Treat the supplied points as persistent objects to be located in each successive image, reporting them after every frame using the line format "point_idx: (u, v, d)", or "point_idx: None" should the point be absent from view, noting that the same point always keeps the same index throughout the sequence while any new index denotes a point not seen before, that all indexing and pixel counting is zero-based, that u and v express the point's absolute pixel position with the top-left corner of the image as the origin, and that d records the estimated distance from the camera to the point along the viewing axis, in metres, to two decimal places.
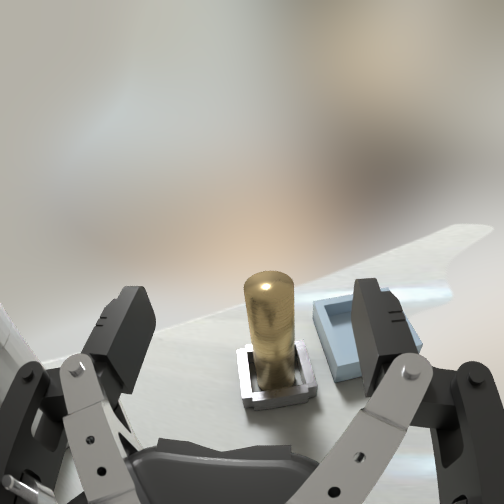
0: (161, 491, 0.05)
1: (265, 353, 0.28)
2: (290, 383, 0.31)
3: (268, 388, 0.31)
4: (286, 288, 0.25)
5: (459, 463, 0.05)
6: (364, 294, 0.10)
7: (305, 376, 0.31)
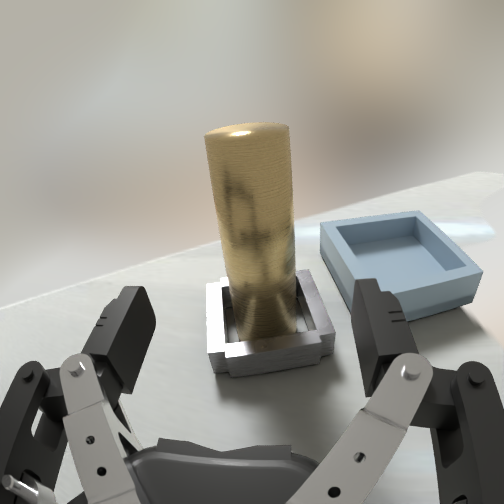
0: (161, 491, 0.05)
1: (244, 262, 0.16)
2: (290, 333, 0.20)
3: None
4: (277, 130, 0.14)
5: (459, 463, 0.05)
6: (364, 294, 0.10)
7: (314, 318, 0.19)
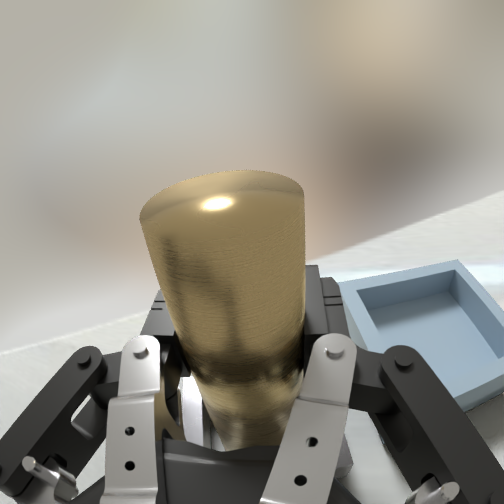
0: None
1: (224, 406, 0.10)
2: None
3: None
4: (279, 201, 0.07)
5: (413, 445, 0.06)
6: None
7: None
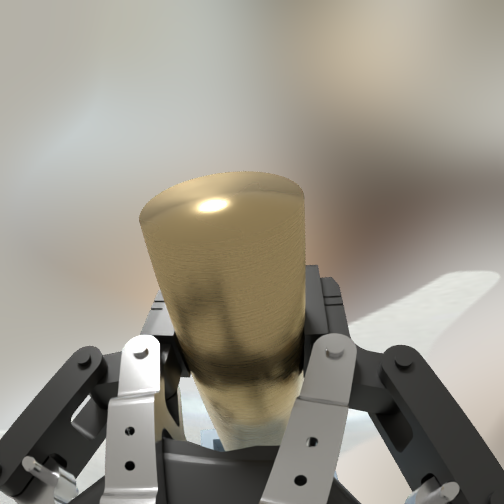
0: None
1: (224, 407, 0.10)
2: None
3: None
4: (280, 203, 0.07)
5: (413, 445, 0.06)
6: None
7: None
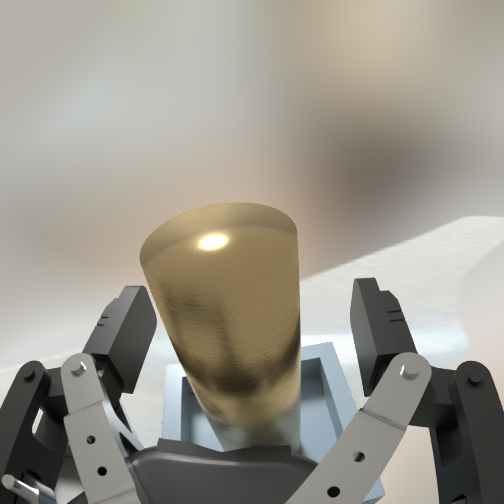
0: (161, 491, 0.05)
1: (225, 423, 0.10)
2: None
3: None
4: (273, 242, 0.08)
5: (458, 463, 0.05)
6: (363, 294, 0.10)
7: None
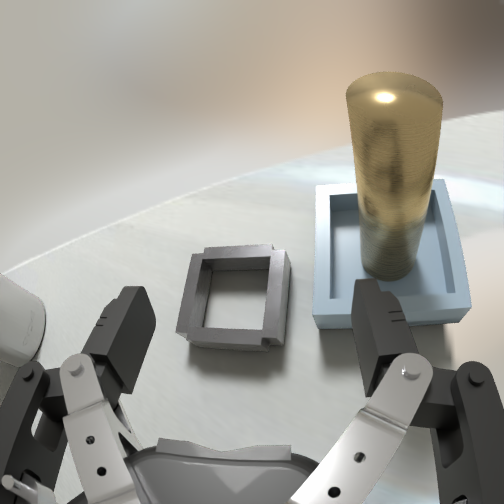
0: (161, 491, 0.05)
1: (380, 221, 0.15)
2: (409, 268, 0.20)
3: (376, 273, 0.20)
4: (430, 104, 0.10)
5: (459, 463, 0.05)
6: (364, 294, 0.10)
7: (265, 316, 0.21)
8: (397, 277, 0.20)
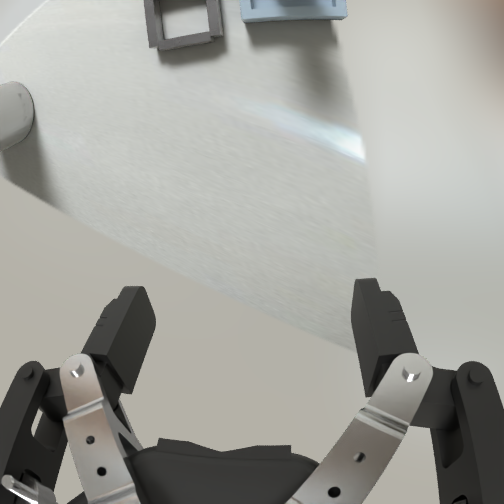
0: (161, 491, 0.05)
1: None
2: None
3: None
4: None
5: (459, 463, 0.05)
6: (364, 294, 0.10)
7: (209, 22, 0.25)
8: None
